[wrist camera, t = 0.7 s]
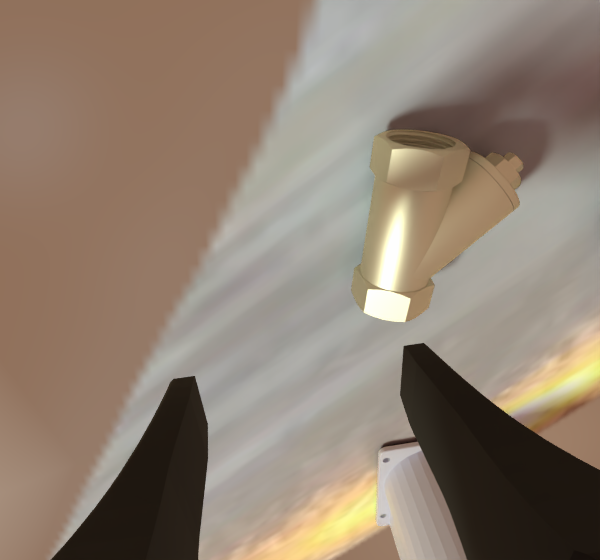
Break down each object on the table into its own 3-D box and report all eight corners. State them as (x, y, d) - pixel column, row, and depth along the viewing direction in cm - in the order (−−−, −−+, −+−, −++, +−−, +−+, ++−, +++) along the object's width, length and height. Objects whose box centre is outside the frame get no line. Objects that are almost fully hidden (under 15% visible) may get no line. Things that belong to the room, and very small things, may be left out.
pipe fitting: (502, 129, 21) (366, 127, 19) (560, 153, 18) (403, 153, 16) (459, 275, 25) (345, 282, 24) (499, 316, 22) (370, 327, 20)
